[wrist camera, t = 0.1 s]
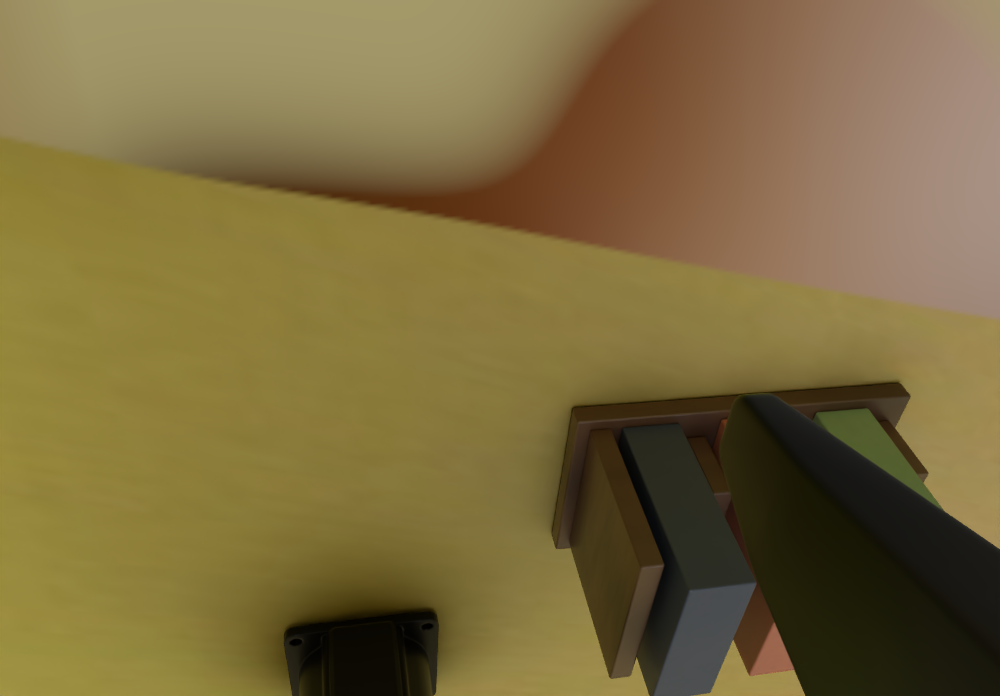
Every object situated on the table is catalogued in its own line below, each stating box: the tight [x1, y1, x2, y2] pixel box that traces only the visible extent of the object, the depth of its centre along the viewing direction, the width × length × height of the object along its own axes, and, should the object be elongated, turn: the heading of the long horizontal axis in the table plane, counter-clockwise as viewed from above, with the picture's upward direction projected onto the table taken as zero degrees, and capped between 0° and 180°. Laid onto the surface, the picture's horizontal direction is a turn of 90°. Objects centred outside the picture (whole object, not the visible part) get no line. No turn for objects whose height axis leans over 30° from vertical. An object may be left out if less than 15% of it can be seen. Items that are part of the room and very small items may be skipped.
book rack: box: [552, 383, 928, 679], centre depth 32 cm, size 7×13×7 cm, turn 86°
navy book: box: [618, 423, 756, 696], centre depth 30 cm, size 6×2×7 cm, turn 176°
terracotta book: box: [712, 419, 794, 676], centre depth 31 cm, size 6×2×7 cm, turn 176°
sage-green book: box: [813, 408, 944, 511], centre depth 31 cm, size 6×2×8 cm, turn 176°
